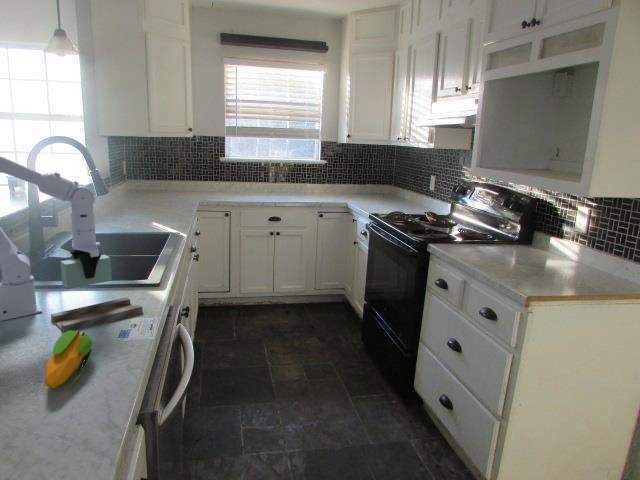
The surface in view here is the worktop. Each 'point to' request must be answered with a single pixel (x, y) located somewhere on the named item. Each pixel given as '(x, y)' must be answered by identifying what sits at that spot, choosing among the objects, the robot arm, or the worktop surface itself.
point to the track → (95, 314)
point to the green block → (75, 273)
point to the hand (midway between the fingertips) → (86, 275)
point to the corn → (67, 357)
